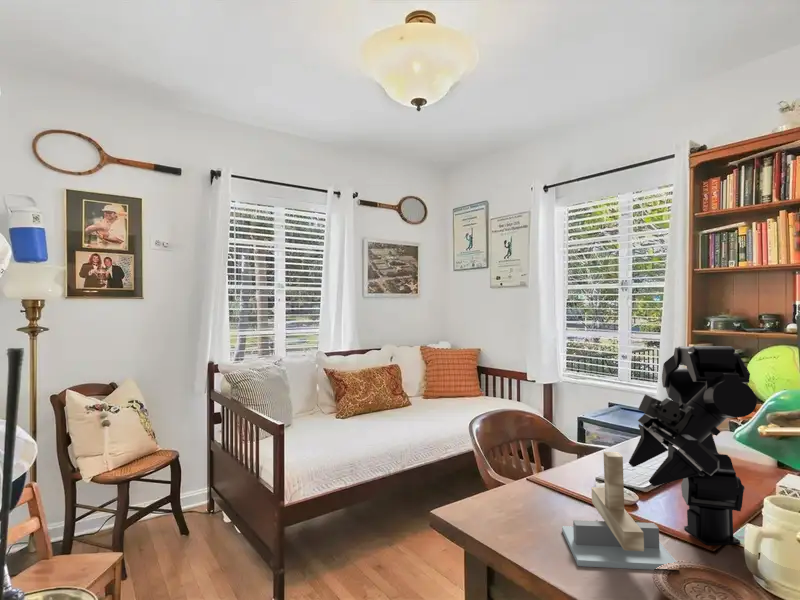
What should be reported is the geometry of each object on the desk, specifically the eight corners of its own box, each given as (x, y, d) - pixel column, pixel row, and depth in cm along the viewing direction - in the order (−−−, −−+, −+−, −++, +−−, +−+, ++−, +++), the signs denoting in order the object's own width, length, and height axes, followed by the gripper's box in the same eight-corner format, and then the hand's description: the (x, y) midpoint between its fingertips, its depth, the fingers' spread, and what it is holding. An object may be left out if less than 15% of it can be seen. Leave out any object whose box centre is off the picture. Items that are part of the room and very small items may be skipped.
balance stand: (649, 534, 87) (648, 510, 87) (679, 570, 75) (678, 543, 75) (562, 531, 89) (561, 508, 89) (578, 566, 77) (577, 539, 77)
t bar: (607, 502, 91) (605, 439, 91) (644, 551, 73) (641, 472, 73) (591, 502, 91) (590, 439, 91) (624, 550, 73) (621, 472, 74)
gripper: (647, 372, 90) (590, 427, 92) (695, 389, 72) (624, 458, 73) (691, 412, 89) (633, 468, 91) (752, 440, 71) (678, 509, 72)
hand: (640, 474), depth 82 cm, fingers open, 9 cm apart
